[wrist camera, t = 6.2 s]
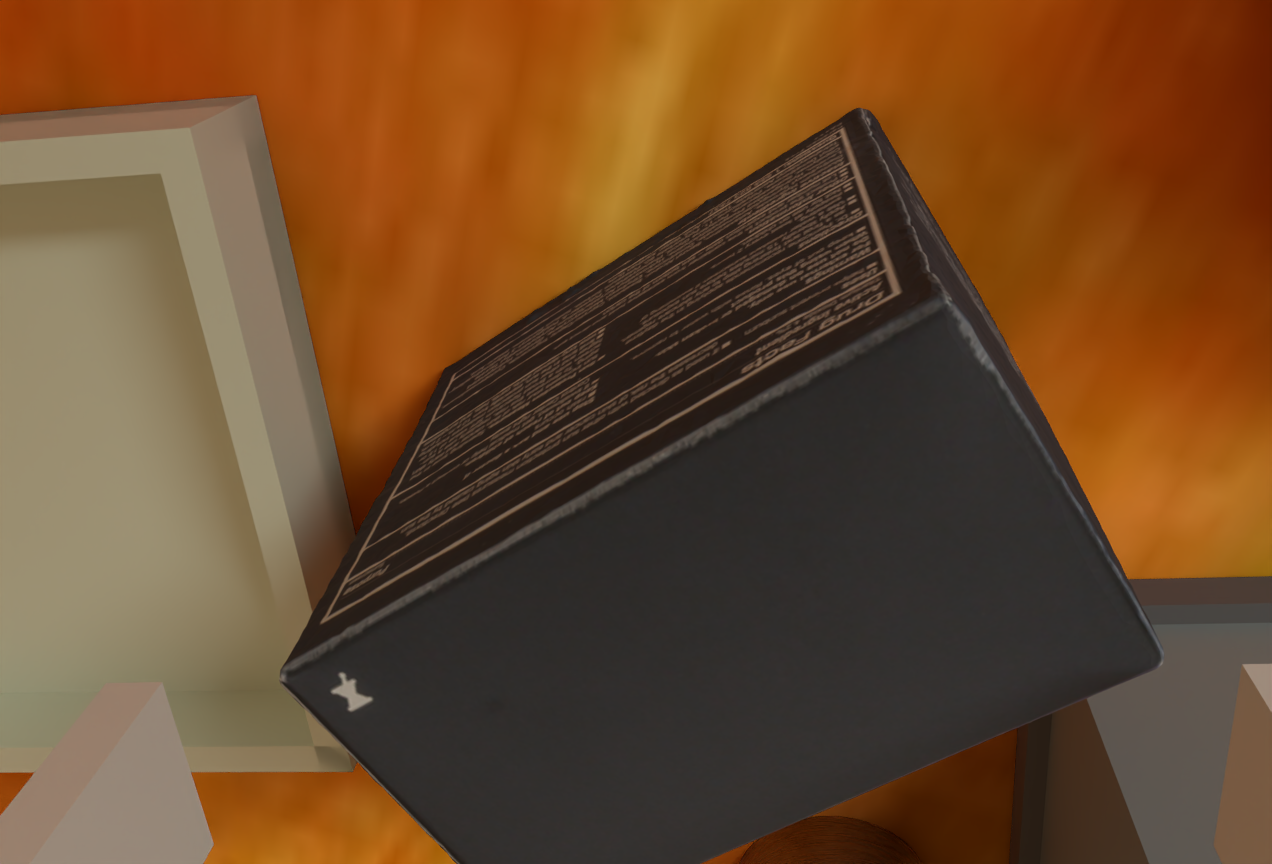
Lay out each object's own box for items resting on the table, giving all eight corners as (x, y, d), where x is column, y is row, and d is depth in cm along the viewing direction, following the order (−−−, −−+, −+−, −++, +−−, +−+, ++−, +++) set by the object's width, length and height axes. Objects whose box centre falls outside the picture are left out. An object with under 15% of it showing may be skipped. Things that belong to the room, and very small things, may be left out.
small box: (606, 586, 28) (525, 968, 18) (433, 369, 25) (242, 674, 16) (1025, 363, 24) (1193, 692, 15) (865, 91, 22) (941, 273, 13)
